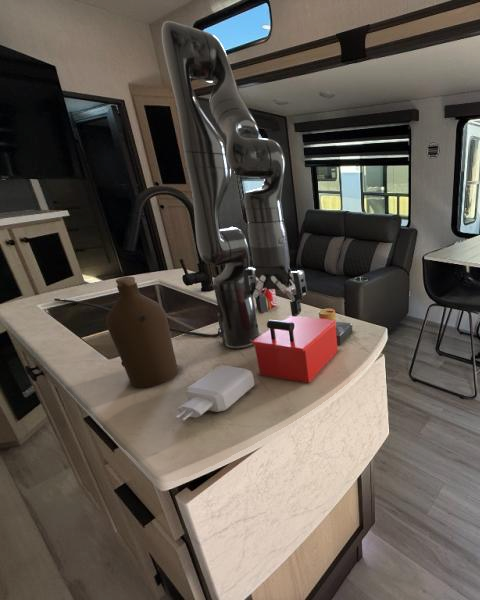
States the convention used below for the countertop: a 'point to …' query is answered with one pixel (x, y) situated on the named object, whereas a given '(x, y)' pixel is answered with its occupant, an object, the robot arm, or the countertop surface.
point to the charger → (216, 391)
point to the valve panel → (343, 331)
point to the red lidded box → (297, 358)
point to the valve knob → (327, 314)
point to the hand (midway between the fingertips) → (279, 313)
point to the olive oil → (141, 336)
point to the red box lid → (293, 332)
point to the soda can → (269, 297)
